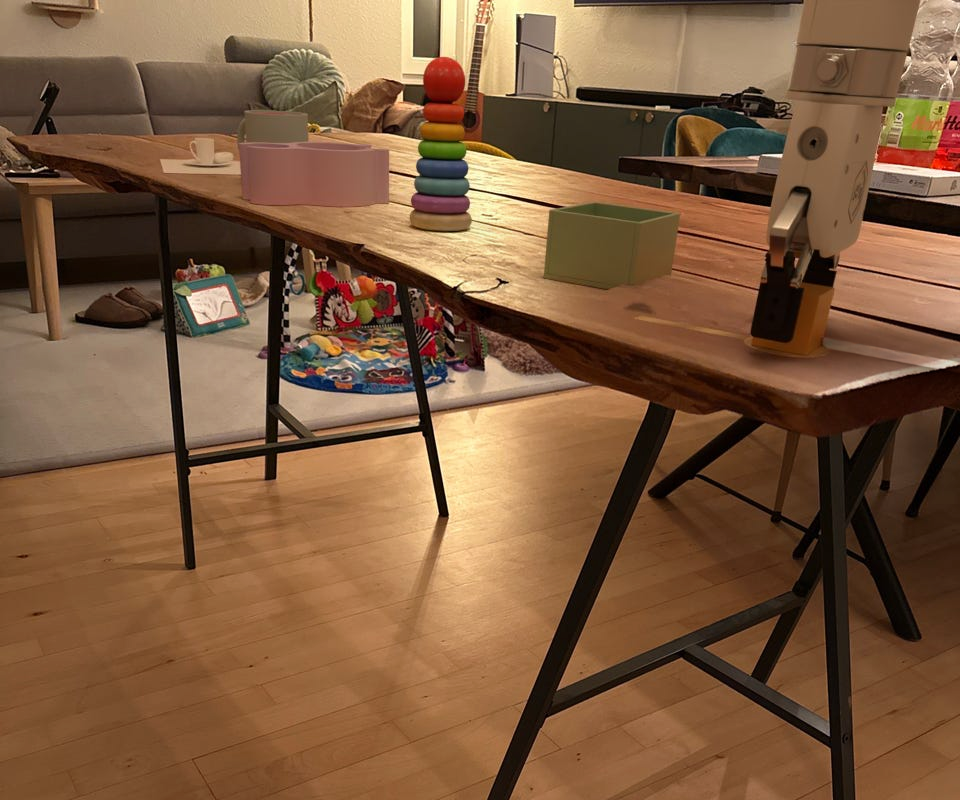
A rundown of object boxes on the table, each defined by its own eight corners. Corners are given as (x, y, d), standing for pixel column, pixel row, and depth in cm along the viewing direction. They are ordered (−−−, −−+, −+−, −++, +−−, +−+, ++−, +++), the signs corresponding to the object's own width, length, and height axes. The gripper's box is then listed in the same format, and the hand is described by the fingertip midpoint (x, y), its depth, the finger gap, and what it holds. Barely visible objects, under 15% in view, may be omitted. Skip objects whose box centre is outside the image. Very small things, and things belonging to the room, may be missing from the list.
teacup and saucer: (232, 163, 171) (230, 137, 168) (237, 168, 164) (235, 141, 162) (181, 162, 168) (178, 135, 166) (183, 167, 162) (180, 140, 160)
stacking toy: (484, 230, 124) (493, 59, 114) (437, 234, 119) (442, 57, 109) (443, 220, 128) (448, 56, 118) (396, 224, 123) (398, 53, 114)
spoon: (837, 354, 79) (839, 344, 79) (814, 372, 74) (816, 361, 74) (651, 319, 86) (652, 310, 86) (619, 333, 81) (620, 323, 81)
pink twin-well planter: (260, 207, 129) (256, 150, 125) (233, 194, 138) (229, 140, 134) (397, 206, 138) (397, 151, 134) (363, 193, 147) (363, 142, 143)
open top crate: (670, 279, 103) (680, 213, 99) (631, 293, 95) (641, 223, 92) (586, 265, 107) (593, 201, 103) (543, 278, 100) (549, 209, 96)
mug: (322, 188, 149) (320, 115, 144) (276, 192, 143) (272, 115, 138) (264, 178, 156) (260, 107, 151) (217, 181, 150) (211, 107, 145)
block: (821, 344, 79) (835, 287, 76) (806, 356, 75) (820, 296, 73) (768, 334, 80) (779, 278, 78) (750, 345, 77) (762, 286, 75)
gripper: (869, 82, 60) (804, 359, 69) (922, 84, 73) (861, 318, 82) (753, 73, 63) (705, 340, 72) (823, 77, 76) (775, 303, 85)
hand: (788, 327), depth 77 cm, fingers open, 8 cm apart
